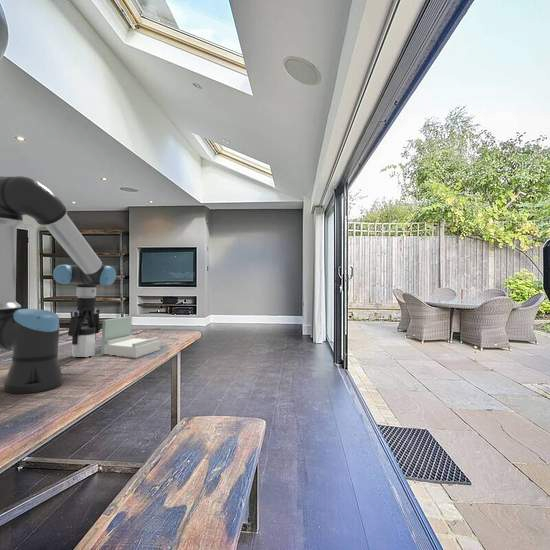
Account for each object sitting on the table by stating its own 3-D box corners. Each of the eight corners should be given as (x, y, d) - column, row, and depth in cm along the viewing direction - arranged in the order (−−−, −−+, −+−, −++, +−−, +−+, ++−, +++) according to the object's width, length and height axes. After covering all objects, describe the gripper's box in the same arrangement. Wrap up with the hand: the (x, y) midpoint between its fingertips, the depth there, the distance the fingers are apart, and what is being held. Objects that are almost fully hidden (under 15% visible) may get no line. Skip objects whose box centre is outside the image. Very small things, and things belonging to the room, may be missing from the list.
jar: (96, 356, 147) (97, 328, 148) (74, 359, 142) (75, 329, 142) (91, 352, 154) (92, 325, 155) (70, 354, 149) (71, 326, 149)
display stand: (135, 357, 148) (137, 322, 148) (101, 354, 152) (102, 320, 153) (159, 349, 166) (160, 318, 166) (127, 346, 170) (129, 316, 170)
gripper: (74, 298, 138) (71, 355, 138) (110, 296, 158) (108, 346, 158) (58, 297, 140) (56, 354, 140) (96, 295, 160) (94, 345, 160)
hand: (84, 350), depth 149 cm, fingers closed on jar, 8 cm apart
